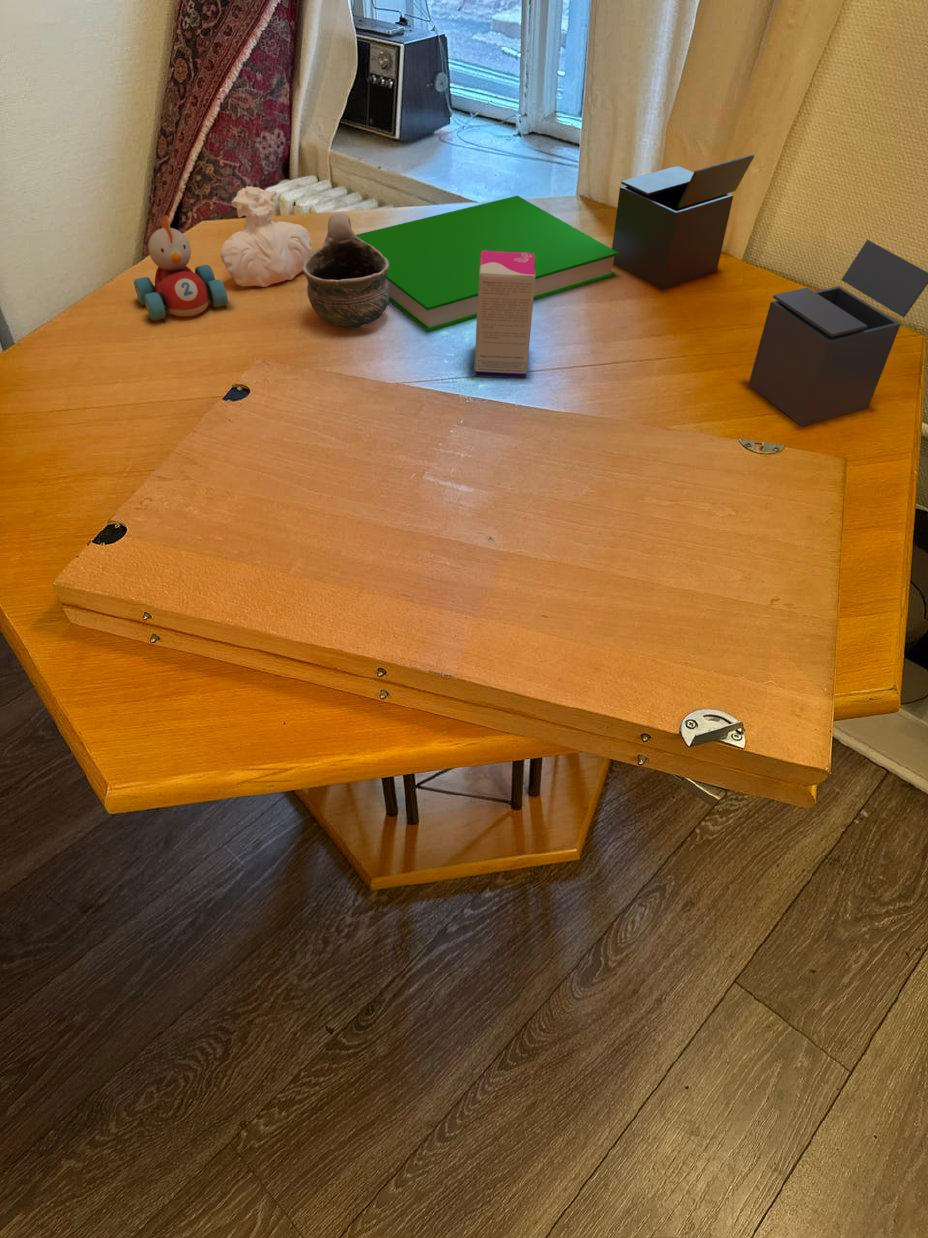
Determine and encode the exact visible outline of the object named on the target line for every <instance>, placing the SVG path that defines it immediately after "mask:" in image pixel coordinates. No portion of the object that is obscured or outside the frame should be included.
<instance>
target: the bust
mask: <svg viewBox="0 0 928 1238" xmlns="http://www.w3.org/2000/svg"><path fill="white" fill-rule="evenodd" d="M276 196H277V191H276V190H273V191H269V190H265V189H262V188H261V187H256V186H252V185H249V186H248V185H246V187H243V188H241V189H239V190H238V191H237V193H236V196H235V197H234V198H233V199H232V201H230V202H231V207H233V208H234V209H235V208H236V212H237V217H238V218H242V217H243V216H245V222H244V226H243V228H244V229H243V230H239V231H236V232H234V233H233V234H232V235H230V236H229V238H228V239H227V240H225V241H224V242H223V244H222V246H221V250H220V253H219V257H220V258H221V262H222V263H223V264H224V266H225V269H226V270H227V271H228V273H229V275H230V276H231V278H232V279H233V281H234V283H236V285H238V286H240V287H255V286H256V287H262V288H267V287H269V286H271V285H273V284H277V283H280V282H284V281H291V280H293V279H294V278H296V276H297V275H298V274H300V273H303V270H302V267H303V262H304V260H305V259H306V257H307V256H308V255H309V254H310V253H311V252H313V247H312V245H313V244H312V238H311V237H310V232H309V230H308V229H307V228H306V227H304V226H303V225H301V224H299V223H292V222H288V221H283V220H279V221H277V222H274V221H272V215H273V213H274V212H275V206H274V204H273V203H277V200H276V199H277V198H276Z"/></svg>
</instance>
